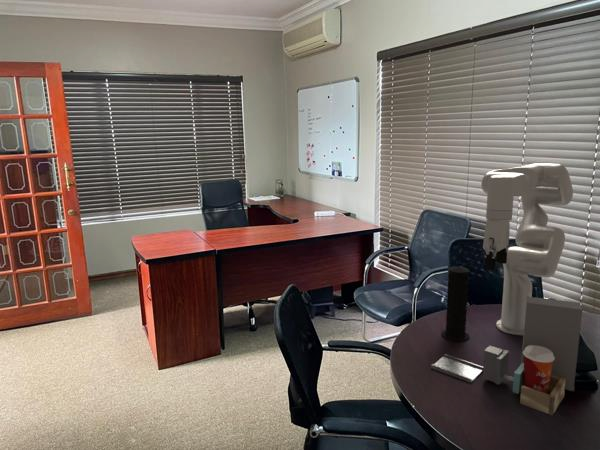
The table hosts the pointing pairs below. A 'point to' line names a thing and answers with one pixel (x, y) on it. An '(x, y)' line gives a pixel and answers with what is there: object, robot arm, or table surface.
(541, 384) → the paper cup
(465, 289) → the handle grip
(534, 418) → the table surface
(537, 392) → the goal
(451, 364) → the track
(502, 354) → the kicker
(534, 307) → the cassette tape recorder
